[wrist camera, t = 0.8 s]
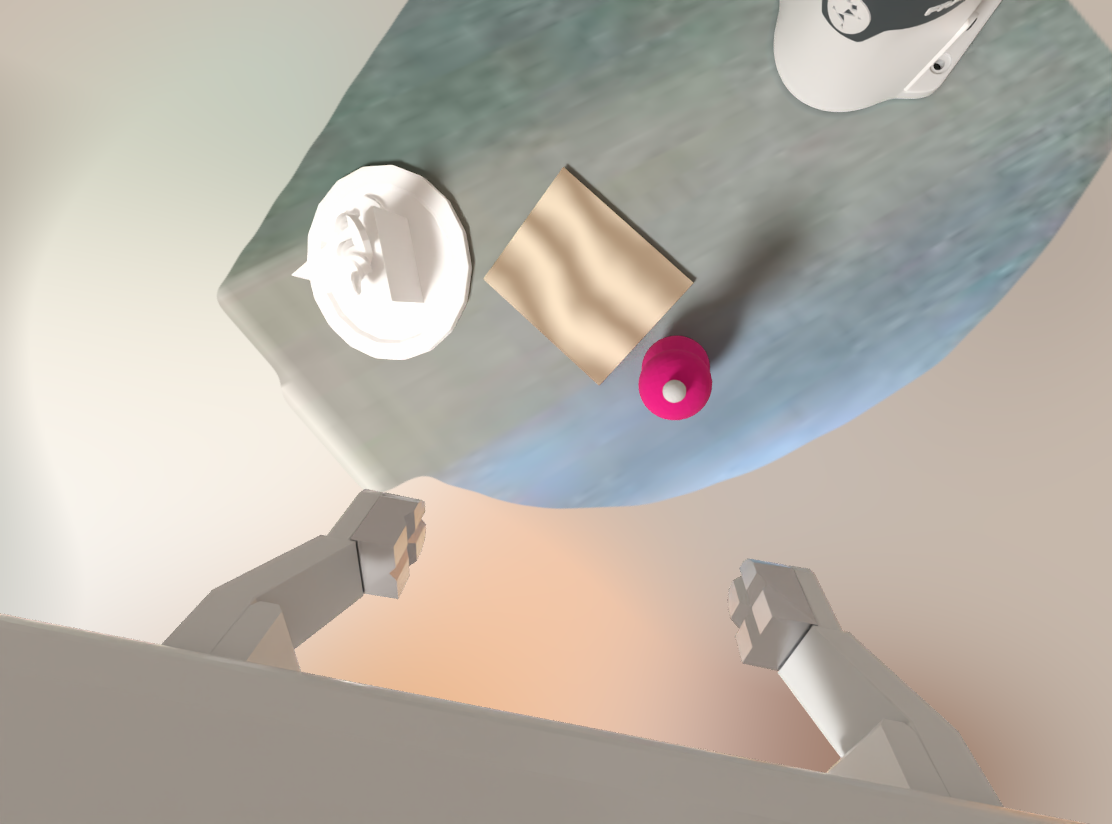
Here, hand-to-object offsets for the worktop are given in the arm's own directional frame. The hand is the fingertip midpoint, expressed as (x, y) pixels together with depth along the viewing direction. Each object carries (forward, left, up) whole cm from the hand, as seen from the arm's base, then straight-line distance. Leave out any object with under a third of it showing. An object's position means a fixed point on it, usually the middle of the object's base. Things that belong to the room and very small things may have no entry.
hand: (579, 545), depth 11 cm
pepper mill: (-1, +2, -44) cm, 44 cm away
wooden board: (-1, -13, -44) cm, 46 cm away
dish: (+15, -35, -44) cm, 58 cm away
